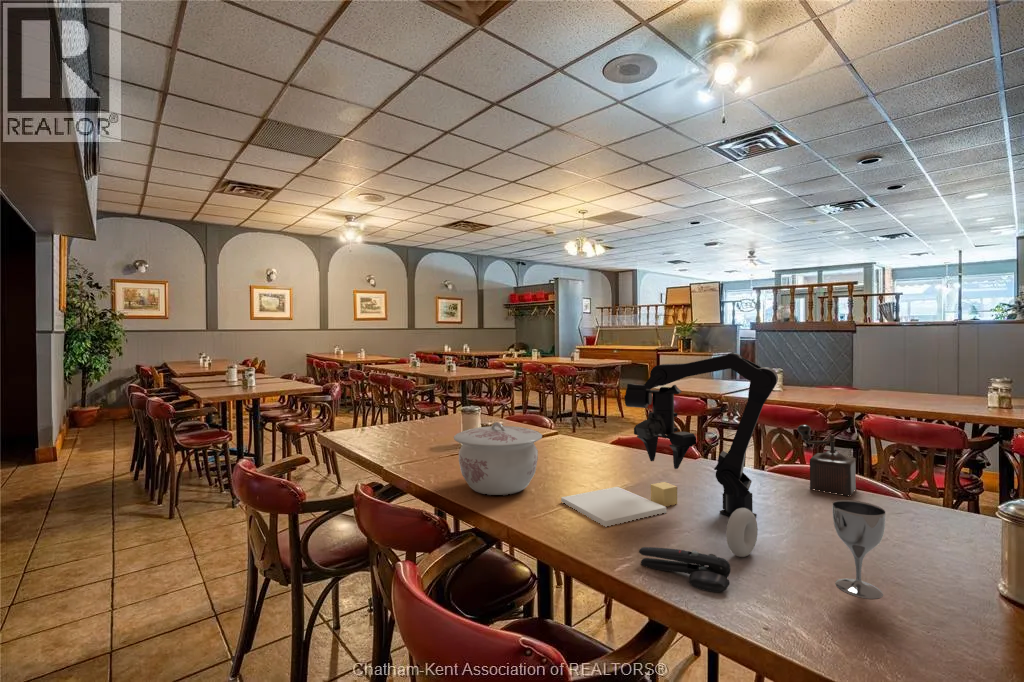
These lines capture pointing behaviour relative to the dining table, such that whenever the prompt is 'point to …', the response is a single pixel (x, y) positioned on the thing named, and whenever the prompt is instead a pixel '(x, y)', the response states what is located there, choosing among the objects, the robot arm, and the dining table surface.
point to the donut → (742, 532)
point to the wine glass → (859, 540)
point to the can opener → (690, 566)
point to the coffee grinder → (830, 468)
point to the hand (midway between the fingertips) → (663, 464)
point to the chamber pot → (498, 458)
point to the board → (613, 506)
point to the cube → (664, 494)
